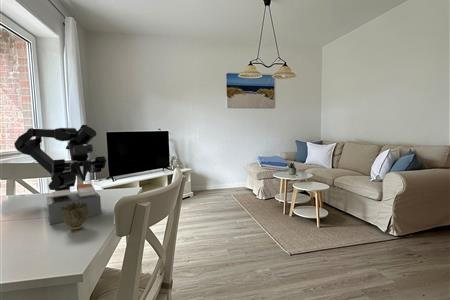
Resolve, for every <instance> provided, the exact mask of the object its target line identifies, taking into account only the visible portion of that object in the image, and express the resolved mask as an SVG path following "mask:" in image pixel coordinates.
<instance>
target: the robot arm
mask: <svg viewBox="0 0 450 300" xmlns="http://www.w3.org/2000/svg"><path fill="white" fill-rule="evenodd" d="M95 137H97V132H96V130H95V129H93V128H92V127H90V126H88V124H82V125H81V126H80V128H79V129H78V130H77V128H75V127H59V128H54V129H53V128H41V127H30V128H28V129H27V131H26V132H24V133H23V134H21V135H19V136H18V137H17V139H16V140H15V142H14V144H13V145H14V148H15V149H16V150H17V151H18V152H19V153H21V154H24V155H26V156H27V155H28V156H30V157H32V159H34V160H35V162H36V163H38V164H39V165H40V166H41V167H42V168H43V169H45V170H46V171H47V173H49V174H50V180H51V181H50V182H49V184H48V188H49V190H51V191H61V190H70V191H71V187H75V184H76V180H77V177H78V178H79V179H80V180H81V181H82V182H85V181H86V178H87V175H88V172H91V170H92V166H93V168H94V169H96V170H101V169H105V167H106V162H107V157H106V156H104V155H100V156H94V159H89V154H91V153H93V152H94V150H93V149H94V148H93V147H94V146H93V145H92V144H90V143H91V142H92V141H93V140H94V138H95ZM43 138H52V139H55V140H56V141H59V142H67V144H66V146H65V150H69V155H70V156H69V158H70V162H66V160H65V159H64V158H61V159H53V158H52V157H51V156H50V155H48V154H47V153H46V151H44V150H43V149H41V148H42V147H41V146H42V145H41V143H42V141H43ZM81 167H82V168H81Z"/></svg>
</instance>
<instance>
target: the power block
mask: <svg viewBox="0 0 450 300" xmlns="http://www.w3.org/2000/svg"><path fill="white" fill-rule="evenodd" d="M79 202H80V205H81V203H82V202H83V203H85V202H86V204H87V203H88V216H87V218H88V217H92V216H97V215H101V214H102V203H101V195H100V194H99V193H98V192H97V191H96V190H95V194H93V195H87V196H81V197H80V195H79V193H78V191H77V192H70V194H69V195H67V196H60V197H52V195H51V196H46V208H47V218H48V222H49V225H54V224H59V223H65V222H64V219H63V215H62V210H61V207H62V206H64V208H65V207H67V204H70V205H71V204H72V203H76V204H77V203H79Z"/></svg>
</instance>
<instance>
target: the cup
mask: <svg viewBox="0 0 450 300" xmlns="http://www.w3.org/2000/svg"><path fill="white" fill-rule="evenodd" d="M61 210H62V215H63V219H64V222H63V223H64V224H65V225H66V226H67V227H69V230H70V231H71V232H77V231H81V230H82V229H83V228H84V225H83V224H85V223H86V221H87V219H88V217H87V216H88V203H87V204H86V202H85V203H83V202H82V203H81V205H80V202H79V203H77V204H76V203H72V204H71V205H70V204H67V207H65V208H64V206H62V207H61Z"/></svg>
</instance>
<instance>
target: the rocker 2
mask: <svg viewBox="0 0 450 300" xmlns="http://www.w3.org/2000/svg"><path fill="white" fill-rule="evenodd" d="M76 190H77V192H78V193H79V195H80V197H81V196H87V195H93V194H95V191H96V189H95V187H94V185H93V184H92V183H91V182H90V183H89V182H88V183H82V184H76Z"/></svg>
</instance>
